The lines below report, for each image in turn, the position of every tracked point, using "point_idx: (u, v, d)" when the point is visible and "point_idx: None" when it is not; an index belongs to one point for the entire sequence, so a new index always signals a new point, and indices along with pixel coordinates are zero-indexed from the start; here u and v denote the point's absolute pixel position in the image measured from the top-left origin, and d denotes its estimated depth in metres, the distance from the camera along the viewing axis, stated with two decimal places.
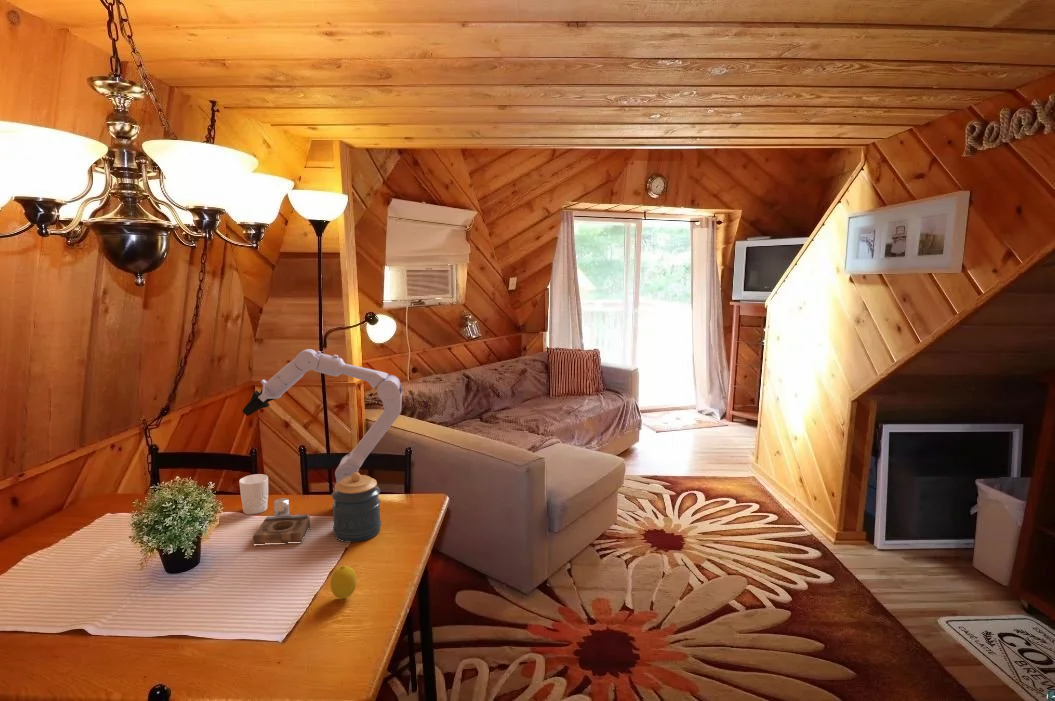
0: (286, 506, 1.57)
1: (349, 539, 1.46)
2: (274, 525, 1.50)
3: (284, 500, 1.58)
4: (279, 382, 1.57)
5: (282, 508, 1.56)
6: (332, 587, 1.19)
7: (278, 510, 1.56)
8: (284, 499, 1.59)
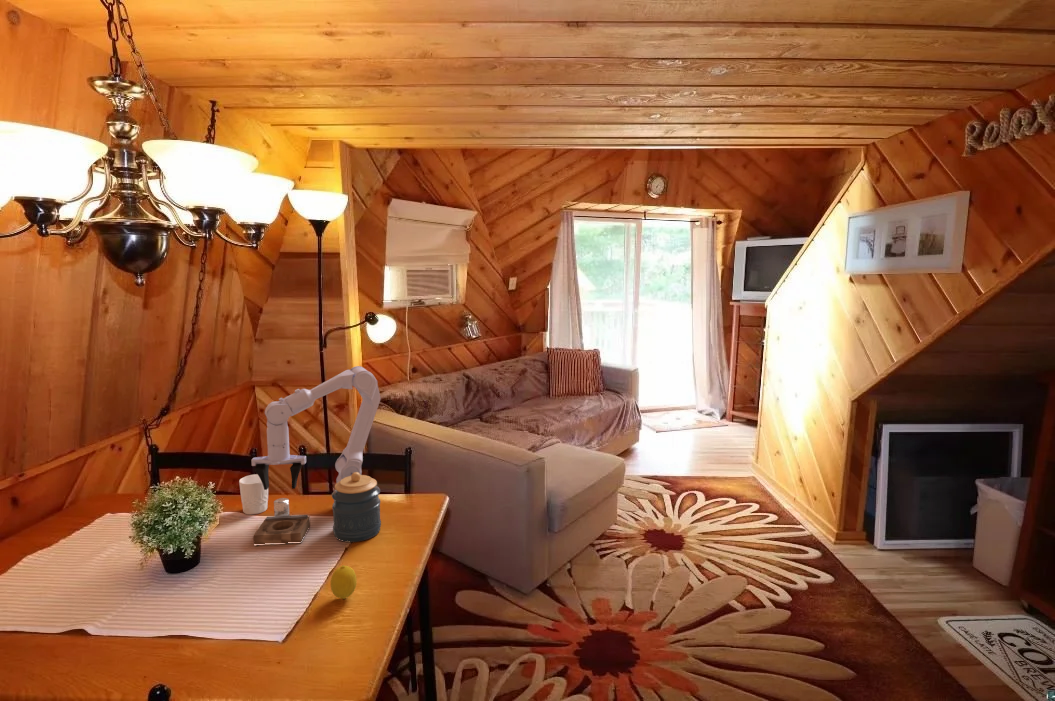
0: (286, 506, 1.57)
1: (349, 539, 1.46)
2: (274, 525, 1.50)
3: (284, 500, 1.58)
4: (288, 445, 1.55)
5: (282, 508, 1.56)
6: (332, 587, 1.19)
7: (278, 510, 1.56)
8: (284, 499, 1.59)
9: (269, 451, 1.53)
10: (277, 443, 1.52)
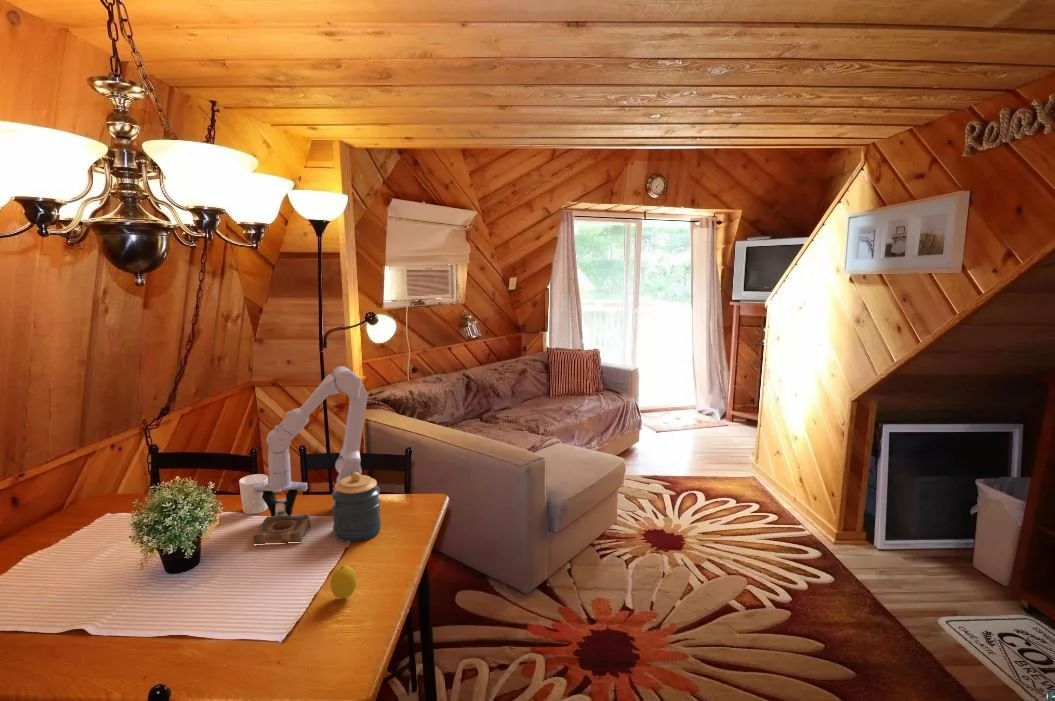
0: (286, 506, 1.57)
1: (349, 539, 1.46)
2: (274, 525, 1.50)
3: (284, 500, 1.58)
4: (289, 472, 1.57)
5: (282, 508, 1.56)
6: (332, 587, 1.19)
7: (278, 510, 1.56)
8: (284, 499, 1.59)
9: (271, 479, 1.54)
10: (278, 471, 1.54)
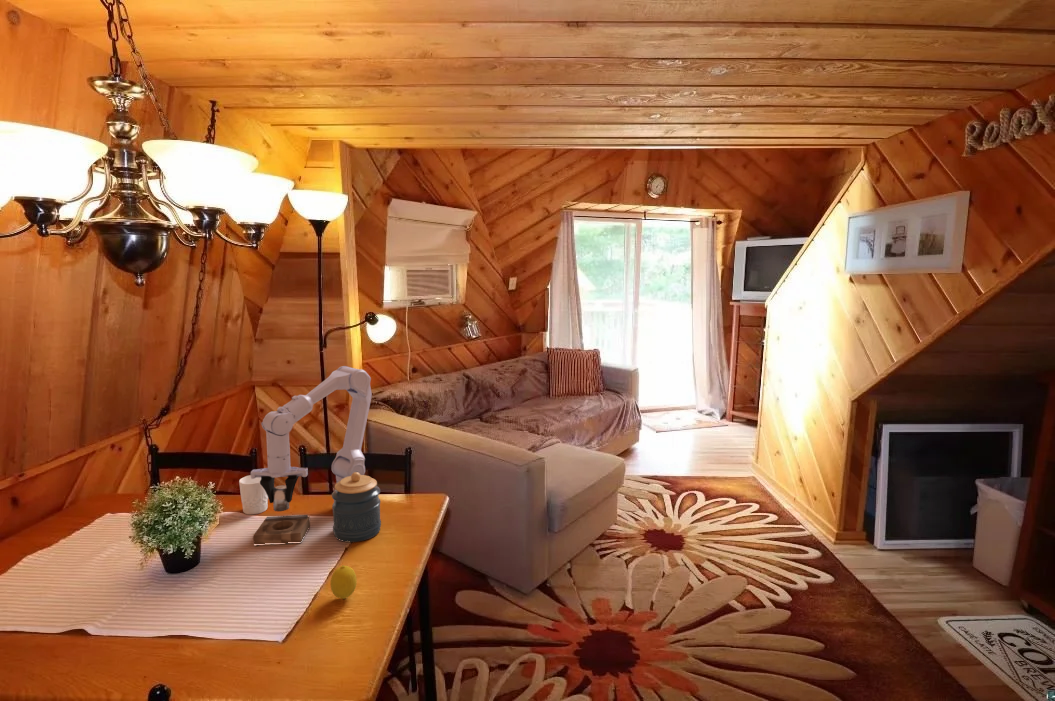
0: (286, 494, 1.50)
1: (349, 539, 1.46)
2: (274, 525, 1.50)
3: (284, 487, 1.51)
4: (289, 456, 1.49)
5: (282, 495, 1.49)
6: (332, 587, 1.19)
7: (278, 498, 1.48)
8: (283, 486, 1.51)
9: (269, 463, 1.46)
10: (281, 454, 1.46)
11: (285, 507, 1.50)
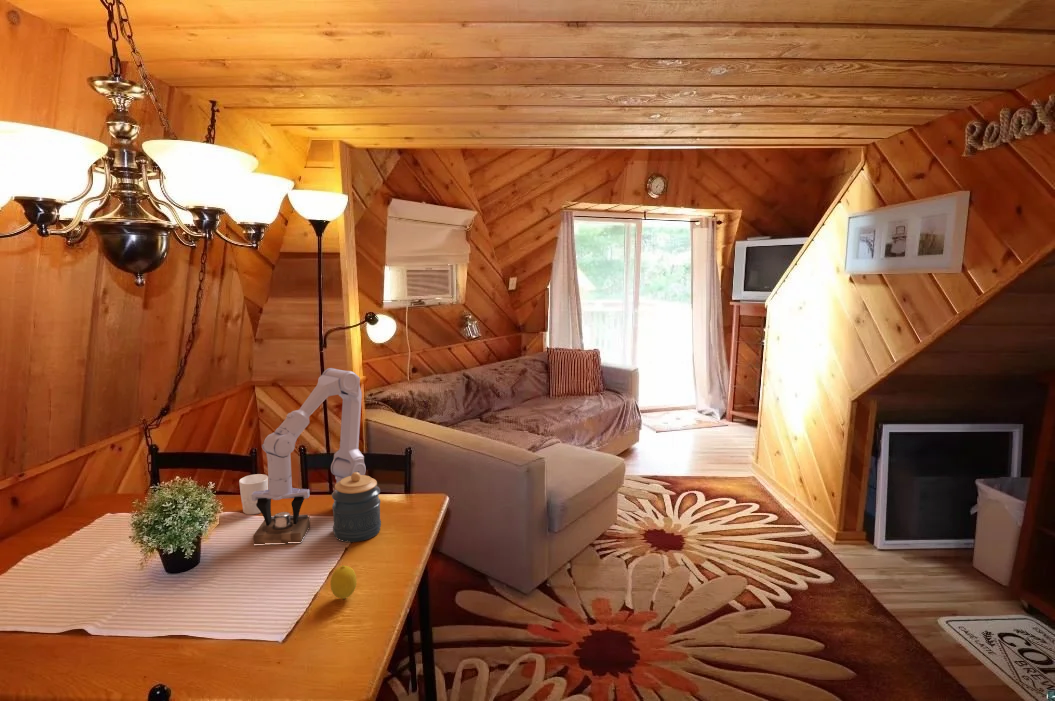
0: (288, 521, 1.48)
1: (349, 539, 1.46)
2: (274, 525, 1.50)
3: (285, 514, 1.49)
4: (290, 478, 1.47)
5: (283, 523, 1.47)
6: (332, 587, 1.19)
7: (279, 525, 1.47)
8: (285, 513, 1.50)
9: (270, 485, 1.45)
10: (284, 476, 1.45)
11: None
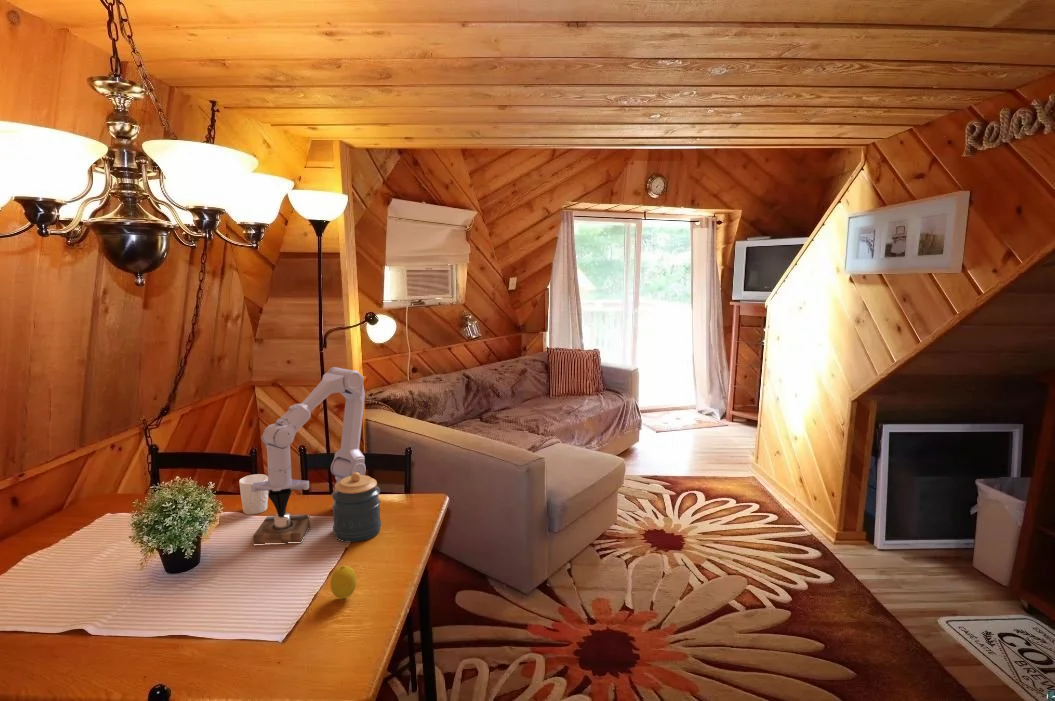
0: (288, 521, 1.48)
1: (349, 539, 1.46)
2: (274, 525, 1.50)
3: (285, 514, 1.49)
4: (290, 469, 1.47)
5: (283, 523, 1.47)
6: (332, 587, 1.19)
7: (280, 525, 1.47)
8: (285, 513, 1.49)
9: (270, 476, 1.44)
10: (284, 467, 1.44)
11: None
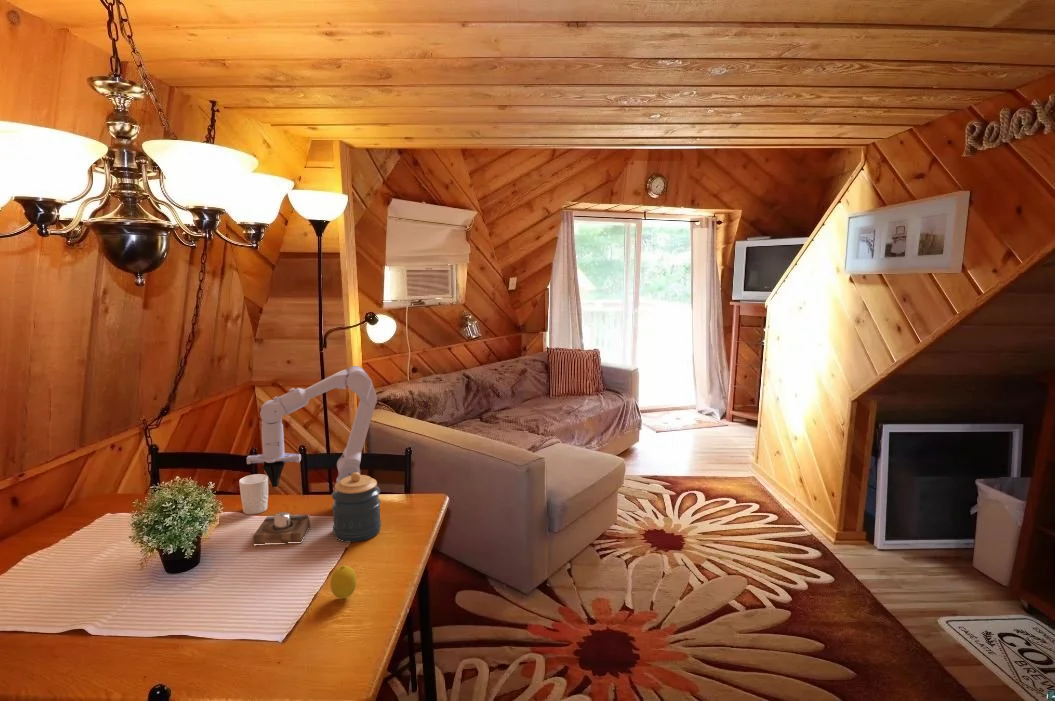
0: (288, 521, 1.48)
1: (349, 539, 1.46)
2: (274, 525, 1.50)
3: (285, 514, 1.49)
4: (283, 443, 1.57)
5: (283, 522, 1.47)
6: (332, 587, 1.19)
7: (280, 525, 1.47)
8: (285, 513, 1.50)
9: (264, 449, 1.55)
10: (270, 441, 1.54)
11: None
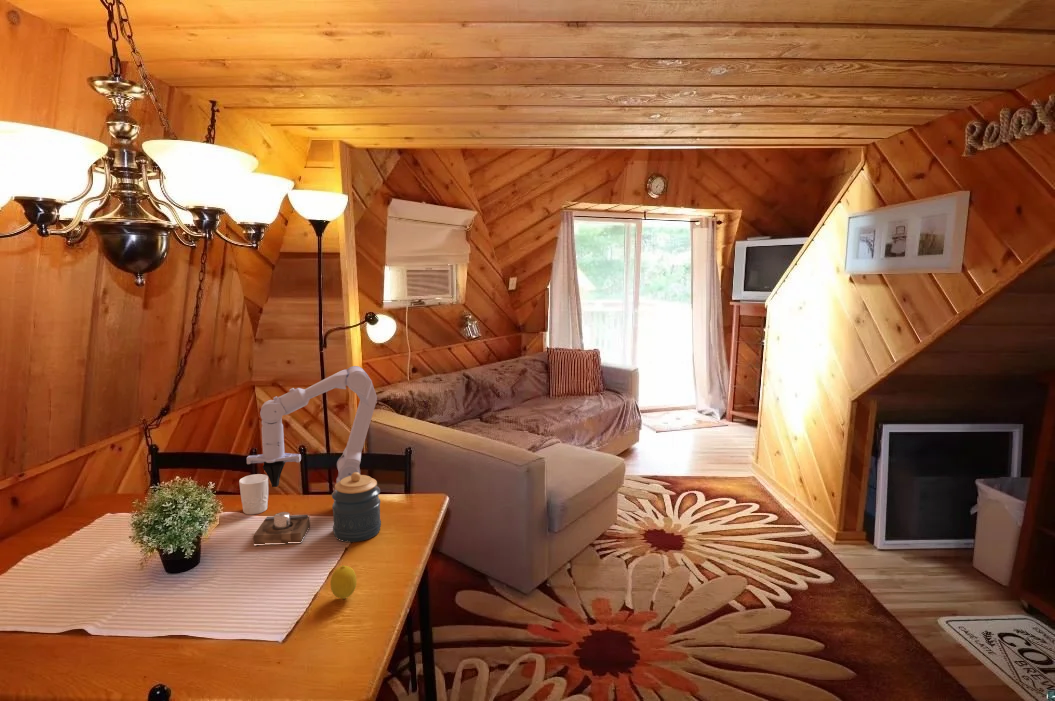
0: (288, 521, 1.48)
1: (349, 539, 1.46)
2: (274, 525, 1.50)
3: (285, 514, 1.49)
4: (283, 443, 1.57)
5: (283, 523, 1.47)
6: (332, 587, 1.19)
7: (280, 525, 1.47)
8: (285, 513, 1.50)
9: (264, 449, 1.55)
10: (270, 441, 1.54)
11: None
